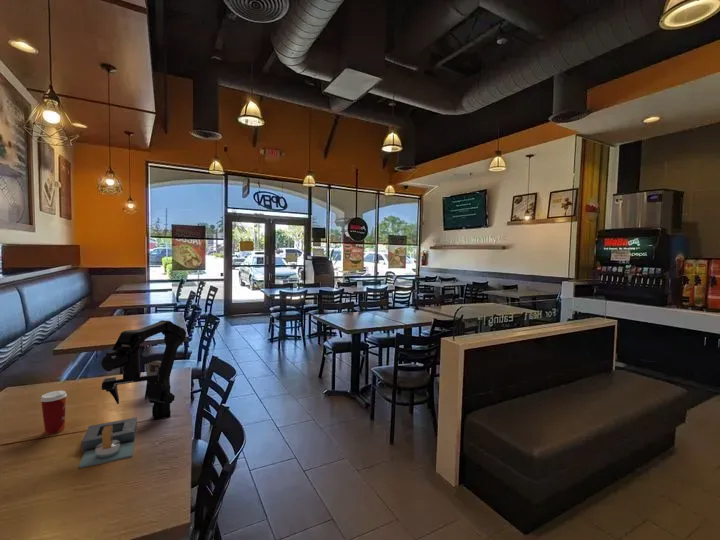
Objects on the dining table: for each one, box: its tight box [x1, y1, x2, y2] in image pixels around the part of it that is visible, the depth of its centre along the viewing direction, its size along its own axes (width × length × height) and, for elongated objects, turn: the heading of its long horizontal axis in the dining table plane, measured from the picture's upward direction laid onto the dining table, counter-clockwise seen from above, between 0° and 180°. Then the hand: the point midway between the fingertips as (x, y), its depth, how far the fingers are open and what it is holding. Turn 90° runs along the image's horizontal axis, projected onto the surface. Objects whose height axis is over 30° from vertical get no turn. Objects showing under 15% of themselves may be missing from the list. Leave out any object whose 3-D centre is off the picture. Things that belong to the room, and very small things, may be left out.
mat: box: [78, 441, 135, 469], centre depth 127 cm, size 15×10×1 cm, turn 118°
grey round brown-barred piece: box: [95, 425, 120, 459], centre depth 127 cm, size 7×7×9 cm
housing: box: [81, 417, 138, 454], centre depth 138 cm, size 16×13×4 cm
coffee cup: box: [39, 390, 68, 435], centre depth 144 cm, size 8×8×15 cm
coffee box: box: [145, 359, 171, 384], centre depth 181 cm, size 9×6×16 cm
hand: (132, 401), depth 142 cm, fingers open, 9 cm apart
